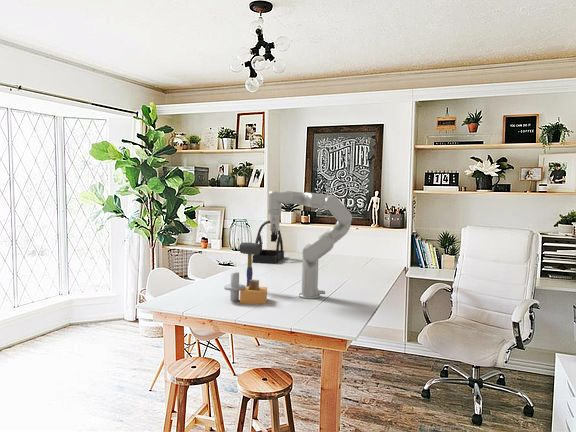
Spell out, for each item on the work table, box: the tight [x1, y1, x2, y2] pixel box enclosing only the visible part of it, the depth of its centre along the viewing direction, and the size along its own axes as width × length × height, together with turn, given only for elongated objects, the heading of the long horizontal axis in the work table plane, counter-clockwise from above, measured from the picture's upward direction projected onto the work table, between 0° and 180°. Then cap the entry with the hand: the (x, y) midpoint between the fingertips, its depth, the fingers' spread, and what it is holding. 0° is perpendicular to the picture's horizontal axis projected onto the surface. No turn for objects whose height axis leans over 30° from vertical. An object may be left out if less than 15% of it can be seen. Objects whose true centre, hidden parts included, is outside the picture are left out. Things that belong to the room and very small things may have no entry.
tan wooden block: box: [249, 279, 260, 290], centre depth 265 cm, size 5×4×12 cm
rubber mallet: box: [238, 242, 261, 286], centre depth 291 cm, size 12×8×30 cm, turn 68°
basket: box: [252, 220, 285, 265], centre depth 402 cm, size 35×21×35 cm, turn 168°
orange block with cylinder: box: [223, 271, 268, 305], centre depth 265 cm, size 24×12×16 cm, turn 88°
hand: (274, 240), depth 277 cm, fingers open, 9 cm apart
